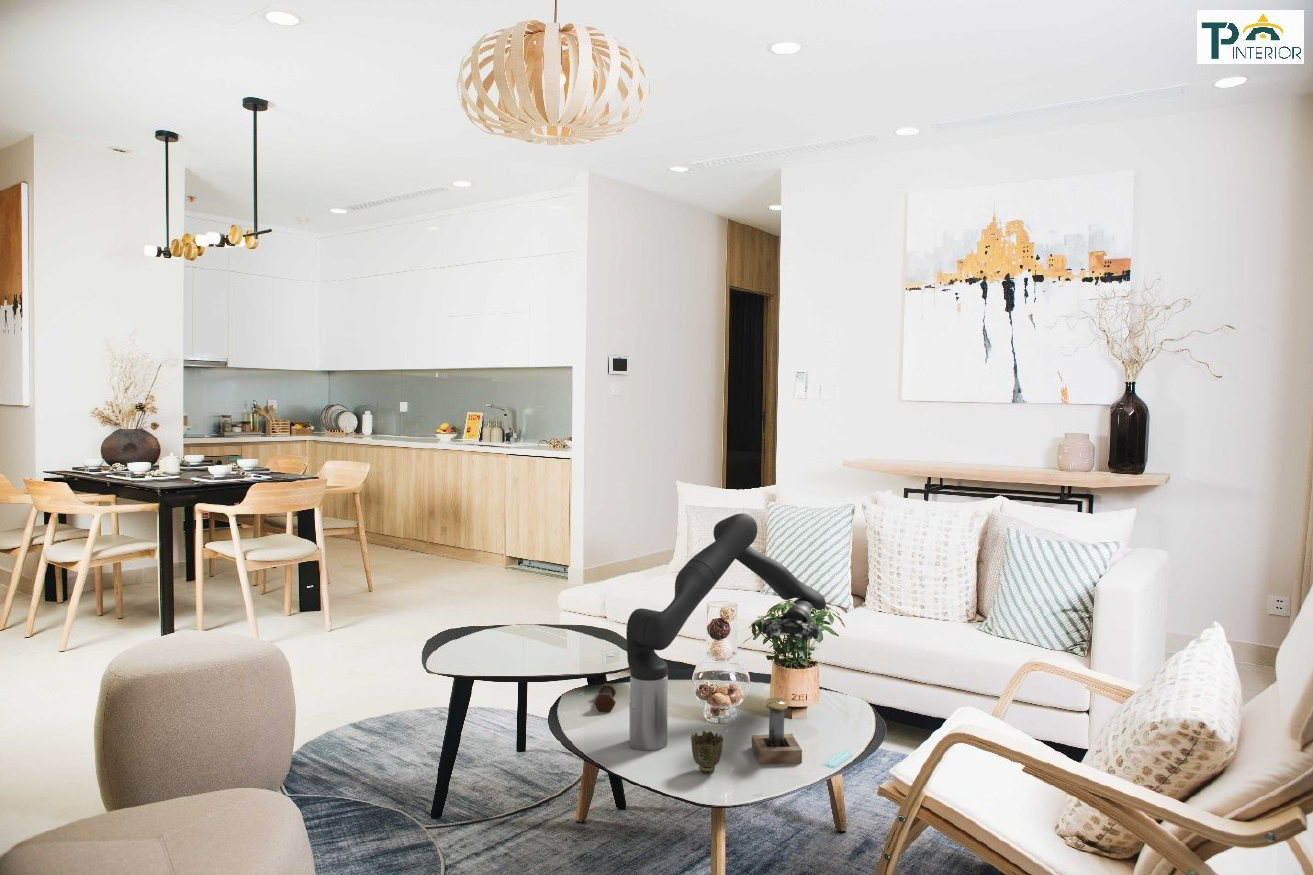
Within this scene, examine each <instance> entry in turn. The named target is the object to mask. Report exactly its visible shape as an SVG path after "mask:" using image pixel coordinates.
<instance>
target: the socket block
mask: <svg viewBox="0 0 1313 875" xmlns="http://www.w3.org/2000/svg"><path fill="white" fill-rule="evenodd" d="M751 749H752V751H753V753H754V752H755V753H754V755H755V756H756V759H757V761H758V763H759V764H760V765H770V764H774V765H775V764H776V765H777V764H802V763H803V749H802V748H801V746H800V744H799V743H798V741H797V740H796V738H795V736H794V735H793V733H784V747H769V734H751Z"/></svg>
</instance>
